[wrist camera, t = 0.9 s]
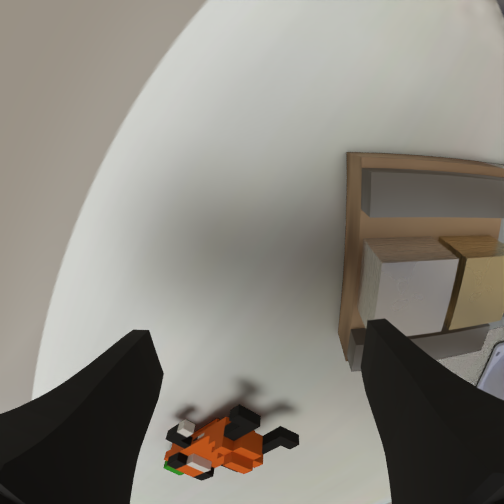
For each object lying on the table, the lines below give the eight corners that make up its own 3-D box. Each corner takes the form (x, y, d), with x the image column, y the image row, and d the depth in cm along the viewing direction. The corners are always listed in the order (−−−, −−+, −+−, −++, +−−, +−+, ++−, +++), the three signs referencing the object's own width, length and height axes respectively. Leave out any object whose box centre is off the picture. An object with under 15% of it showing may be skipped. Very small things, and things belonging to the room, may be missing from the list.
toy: (309, 468, 19) (199, 507, 23) (305, 411, 24) (206, 464, 29) (222, 431, 17) (130, 478, 22) (232, 369, 23) (145, 433, 27)
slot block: (452, 320, 20) (478, 355, 16) (337, 332, 21) (350, 377, 16) (479, 161, 15) (522, 174, 11) (346, 152, 16) (371, 160, 12)
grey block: (420, 301, 16) (441, 331, 13) (356, 307, 16) (370, 340, 14) (431, 236, 14) (459, 259, 12) (363, 238, 15) (382, 263, 12)
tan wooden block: (476, 294, 16) (500, 320, 13) (427, 300, 16) (448, 330, 13) (490, 235, 14) (519, 255, 11) (438, 236, 14) (466, 258, 12)
